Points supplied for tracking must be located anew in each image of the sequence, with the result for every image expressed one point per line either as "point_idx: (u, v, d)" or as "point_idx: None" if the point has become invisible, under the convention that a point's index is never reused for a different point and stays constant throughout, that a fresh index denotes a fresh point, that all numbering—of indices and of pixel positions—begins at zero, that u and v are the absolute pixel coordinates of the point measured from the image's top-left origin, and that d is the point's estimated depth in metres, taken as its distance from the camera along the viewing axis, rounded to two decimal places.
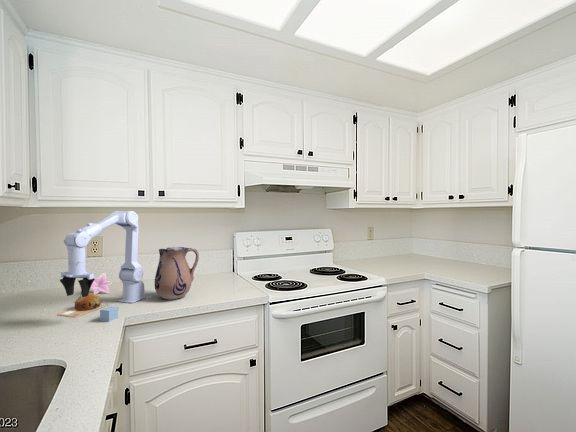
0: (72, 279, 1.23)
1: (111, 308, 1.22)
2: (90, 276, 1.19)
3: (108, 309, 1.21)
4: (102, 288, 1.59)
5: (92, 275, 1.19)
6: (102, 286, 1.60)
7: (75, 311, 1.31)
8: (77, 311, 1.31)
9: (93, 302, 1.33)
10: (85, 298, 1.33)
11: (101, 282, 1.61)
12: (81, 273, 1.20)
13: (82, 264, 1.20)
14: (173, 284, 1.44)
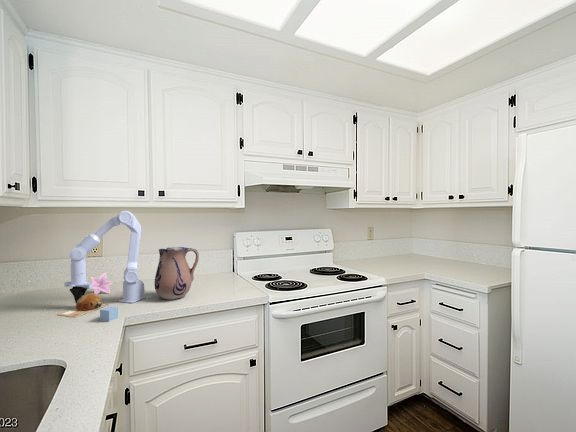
0: None
1: (111, 308, 1.22)
2: (90, 286, 1.35)
3: (108, 309, 1.21)
4: (103, 288, 1.59)
5: (92, 285, 1.35)
6: (103, 286, 1.60)
7: (75, 311, 1.31)
8: (77, 311, 1.31)
9: (95, 302, 1.33)
10: (87, 298, 1.33)
11: (102, 282, 1.61)
12: (82, 283, 1.36)
13: (83, 275, 1.36)
14: (173, 284, 1.44)
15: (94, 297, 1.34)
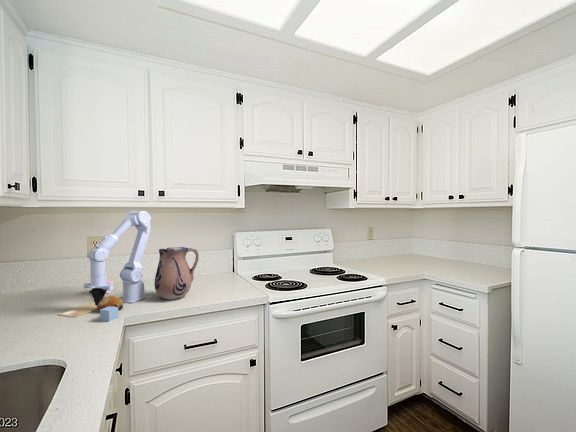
0: None
1: (111, 308, 1.22)
2: (110, 287, 1.32)
3: (108, 309, 1.21)
4: None
5: (112, 286, 1.33)
6: None
7: (75, 311, 1.31)
8: (77, 311, 1.31)
9: (118, 304, 1.32)
10: (110, 300, 1.31)
11: None
12: (102, 285, 1.33)
13: (103, 276, 1.33)
14: (173, 284, 1.44)
15: (117, 299, 1.33)
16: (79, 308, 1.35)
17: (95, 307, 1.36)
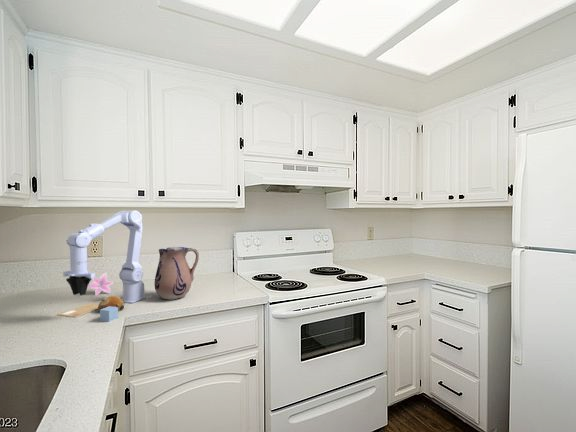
0: (78, 278, 1.26)
1: (111, 308, 1.22)
2: (91, 275, 1.22)
3: (108, 309, 1.21)
4: (103, 288, 1.59)
5: (93, 274, 1.23)
6: (103, 286, 1.60)
7: (75, 311, 1.31)
8: (77, 311, 1.31)
9: (120, 304, 1.32)
10: (111, 301, 1.31)
11: (102, 282, 1.61)
12: (83, 272, 1.23)
13: (84, 263, 1.24)
14: (173, 284, 1.44)
15: (118, 299, 1.33)
16: (79, 308, 1.35)
17: (95, 307, 1.36)
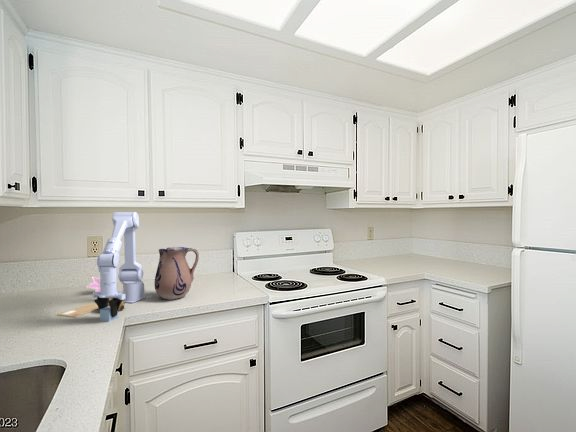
0: (106, 299, 1.24)
1: None
2: (122, 297, 1.20)
3: (108, 309, 1.21)
4: None
5: (124, 295, 1.21)
6: None
7: (75, 311, 1.31)
8: (77, 311, 1.31)
9: (120, 304, 1.32)
10: None
11: None
12: (113, 293, 1.21)
13: (114, 284, 1.21)
14: (173, 284, 1.44)
15: None
16: (79, 308, 1.35)
17: (95, 307, 1.36)
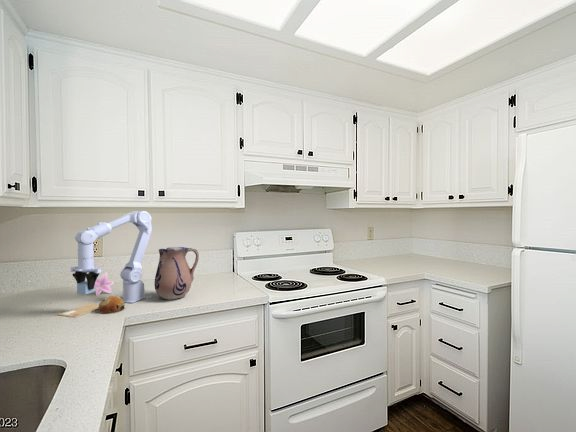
0: (83, 273, 1.33)
1: None
2: (98, 270, 1.29)
3: (84, 283, 1.30)
4: (104, 288, 1.59)
5: (100, 269, 1.30)
6: (104, 286, 1.60)
7: (75, 311, 1.31)
8: (77, 311, 1.31)
9: (120, 304, 1.32)
10: (111, 301, 1.31)
11: (103, 282, 1.61)
12: (90, 268, 1.30)
13: (91, 259, 1.31)
14: (173, 284, 1.44)
15: (118, 299, 1.33)
16: (79, 308, 1.35)
17: (95, 307, 1.36)
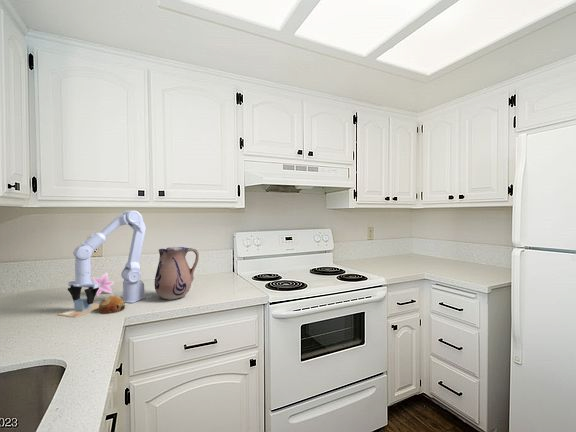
0: (78, 288, 1.35)
1: (85, 299, 1.33)
2: (95, 285, 1.31)
3: (81, 300, 1.32)
4: (104, 288, 1.59)
5: (97, 284, 1.32)
6: (104, 286, 1.60)
7: (75, 311, 1.31)
8: (77, 311, 1.31)
9: (120, 304, 1.32)
10: (112, 301, 1.31)
11: (103, 282, 1.61)
12: (87, 283, 1.32)
13: (88, 274, 1.32)
14: (173, 284, 1.44)
15: (118, 299, 1.33)
16: None
17: (95, 307, 1.36)
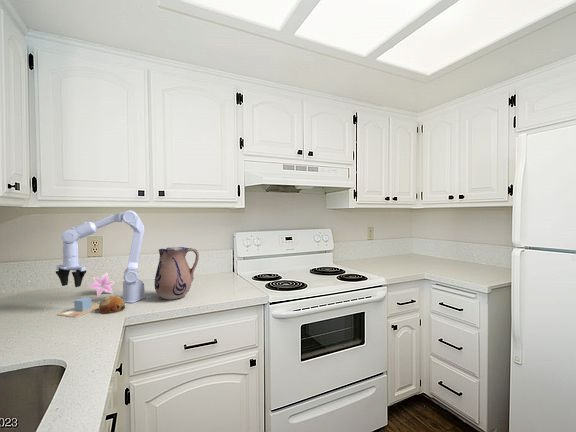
0: (66, 271, 1.38)
1: (85, 299, 1.33)
2: (82, 268, 1.34)
3: (81, 300, 1.32)
4: (105, 288, 1.59)
5: (84, 267, 1.34)
6: (105, 286, 1.60)
7: (75, 311, 1.31)
8: (77, 311, 1.31)
9: (120, 304, 1.32)
10: (112, 301, 1.31)
11: (104, 282, 1.61)
12: (74, 266, 1.35)
13: (75, 257, 1.35)
14: (173, 284, 1.44)
15: (119, 299, 1.33)
16: None
17: (95, 307, 1.36)
